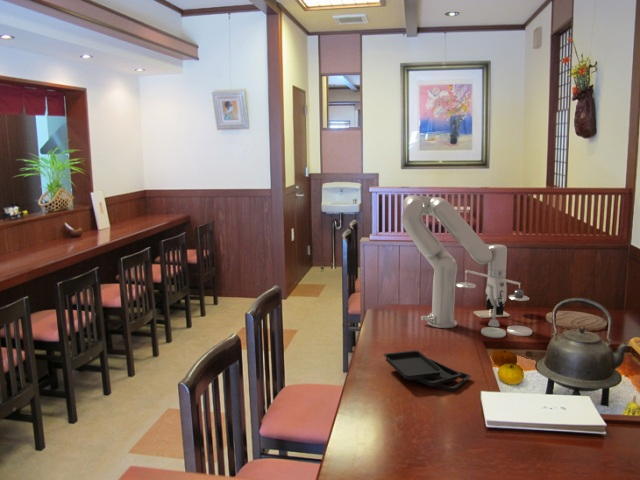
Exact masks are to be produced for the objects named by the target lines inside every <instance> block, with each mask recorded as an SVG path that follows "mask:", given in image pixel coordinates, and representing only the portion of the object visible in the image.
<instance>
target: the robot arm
mask: <svg viewBox="0 0 640 480" xmlns="http://www.w3.org/2000/svg"><path fill="white" fill-rule="evenodd" d="M402 208H403V211H402V216H401V221H402V227H403V228H404V230H405V232H406V233H407V234H408V236H409V237H410V239H411V240H412V242H413V243H414V244H415V245H416V248H417V249H418V250H419V252H420V253H421V254H422V256H423V257H424V258H425V259H426V260H427V262H428V263H429V265H431V267H432V268H433V278H432V279H433V281H432V300H431V301H432V302H431V303H432V304H431V306H432V307H431V312H429V314H427V315H421V316H420V319H421V321H426V322H427V323H428V325H429V326H431V327H434V328H438V329H439V328H440V329H452V328H455V327H457V326H458V322H457V320H455V319H454V318H455V302H456V301H455V298H456V297H455V295H456V294H455V293H456V279H457V273H458V265H457V262H456V259H455V258H454V257H453V256H452V254H450V253H449V251H448V250H447V249H446V248H445V246H444V245H443V243H441V242H440V240H439V239H438V237H437V236H436V235H435V234H434V233H433V232H432V231H431V230H430V229H429V227H428V226H427V224H426V223H425V222H424V220H423V216H433V218H435V219H436V220H437V221H438V222H439V223H440V225H441V226H442V227H443V228H444V229H445V230H446V232H448V233H449V234H450V236H451V237H452V238H453V239H454V240H455V241H457V242H458V244H460V245H461V246H462V247H463V248H464V249H465V250H466V251H467V252H468V253H469V255H470V257H471V258H472V259H473V260H474V261H475V262H476V263H478V264H479V265H487V275H488V277H487V280H486V288H485V296H486V310H490V309H494V306H493V305H492V304H491V302H490V299H489V286H491V287H494V288H493V297H494V299H495V300H496V302H497V306H496V315H503V311H504V309H505V308H504V307H505V304H506V301H507V295H508V294H507V292H508V291H507V290H508V289H507V288H508V287H507V282H506V278H507V261H508V260H507V259H508V248H507V246H506V245H505V244H498V243H497V244H496V243H495V244H487V243H485V242H484V241H483V240H482V238H480V236H479V235H478V234H477V233H476V232H475V230H474V229H473V228H472V227H471V226H470V224H468V222H467V221H466V220H465V219H464V218H463V217H462V215H461V214H460V213H459V212H458V211H457V210H456V208H455V207H454V206H453V205H452V204H451V203H450V202H449V201H448V200H446V199H445V198H443V197H439V196H438V197H436V196H427V195H426V196H425V195H417V194H416V195H415V194H411V195H408V196H406V197H405V198H404V199H403V202H402ZM488 285H489V286H488ZM498 298H501V299H498ZM499 301H500V303H499Z"/></svg>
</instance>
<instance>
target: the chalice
mask: <svg viewBox="0 0 640 480" xmlns="http://www.w3.org/2000/svg"><path fill="white" fill-rule="evenodd" d="M488 286H489V285H488ZM493 288H494V287H491V286H489V299H490V302H491V304H492V305H493V306H494V309H493V318H491V319H490V320H489V322H488V323H487V325H488V327H494V328H499V327H500V326H501V325H500V322H499V320H498V319H497V317H495V316H496V306H497V302H496V300H495V299H494V297H493ZM498 299H501V298H498ZM500 302H501V301H499V303H500Z"/></svg>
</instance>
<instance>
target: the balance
mask: <svg viewBox="0 0 640 480" xmlns="http://www.w3.org/2000/svg"><path fill="white" fill-rule="evenodd" d="M464 272H465V282H463V281H462V282H457V283H456V282H455V287H456V288H458V289H460V288H461V289H475V288H476V287H477V285H476V284H475V283H472V282H467V276H468V273H469V274H472V275H476V276H481V277H485V278H488V273H487V274H486V273H482V272H477V271H474V270H468V269H465V271H464ZM506 283H509V284H514V285H518V289H514V294H510V295H508V299H509V300H513V301H517V302H527V301H529V300H530V297H528V296H527V295H524V294H525V293H524V292H525V291H524V290H523V289H521V282H518V281H515V280H511V279H506ZM473 314H474V315H475V316H477V317H479V318H480V319H489V318H491V319H492V318H493V309H489V310H487V309H486V310H473ZM507 317H509V318H510V314H509V313H508V312H506V311H504V310H503V315H496V316H495V318H507Z"/></svg>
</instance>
